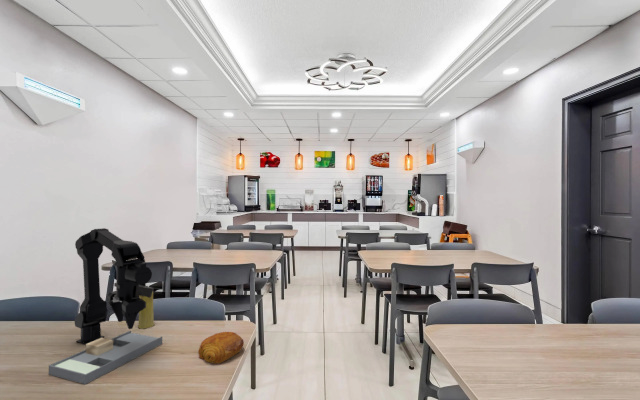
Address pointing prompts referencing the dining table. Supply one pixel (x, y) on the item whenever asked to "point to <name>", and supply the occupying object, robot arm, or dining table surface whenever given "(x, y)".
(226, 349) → the croissant
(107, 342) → the beech block
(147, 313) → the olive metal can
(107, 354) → the box
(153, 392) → the dining table surface
